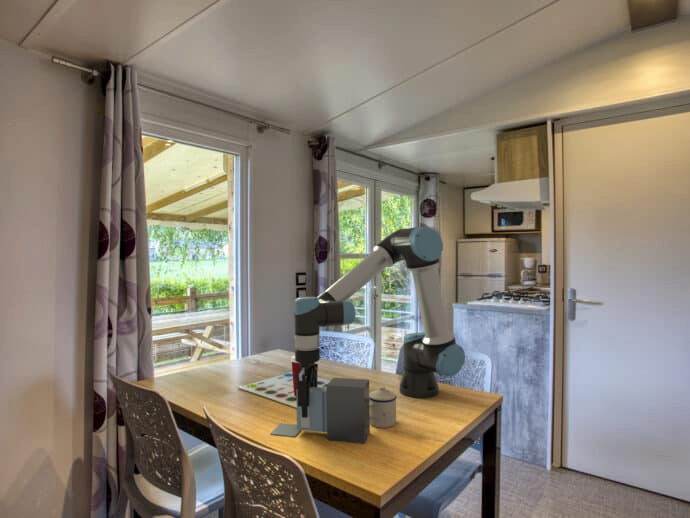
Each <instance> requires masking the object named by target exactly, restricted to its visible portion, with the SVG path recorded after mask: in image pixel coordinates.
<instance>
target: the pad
mask: <svg viewBox="0 0 690 518" xmlns="http://www.w3.org/2000/svg"><path fill="white" fill-rule="evenodd" d="M301 431H302V430H297V424H293V423H282V422H280V423H279V424H278V425H277V426H276V427H275V428H274V429H273V430H272V431H271V432H270V436H271V435H272V436H281V437H291V438H292V437H293V438H296V437H297V435H298V434H299V433H301Z"/></svg>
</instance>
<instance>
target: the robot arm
mask: <svg viewBox="0 0 690 518" xmlns="http://www.w3.org/2000/svg"><path fill="white" fill-rule="evenodd" d="M443 243H444V242H443V239H442V237H441V235H440V233H439V232H438V231H437V230H435V229H433V228H432V227H428V226H425V227H424V226H417V227H409V228H407V227H406V228H401V229H398V230H395V231H394V232H392V233H390V234H389V235H388V236H386V237H384V239H382V240H381V241H379V242H378V244H376V245H375V246H374V247H373V251H372V252H371V253H370V254H368V255H367V256H366V257H364V258H363V259H362V260H361V261H359V262H358V263H357V264H356V265H355V266H354V267H352V268H351V269H349V270H348V271H347V273H345V274H344V275H343V276H341V277H340V278H338V280H337V281H335V282H334V283H333V284H332V285H331V286H330V287H328V288H327V289H326V290H325V291H323V292H322V293H320V294H319V295H318V296H300V297H296V299H295V300H294V308H293V309H294V310H293V314H294V315H293V316H294V337H293V340H294V346H295V349H294V351H295V352H294V355H295V360H296V361H297V362H299V363H300V364H301V365H300V370H299V373H300V374H297V375H296V378H297V390H298V406H301V427H305V428H310V405H309V394H310V387H318V367H319V363H317V362H319V361H320V360H321V359H320V358H321V357H320V356H321V354H320V352H321V351H320V346H321V337H320V333H321V332H320V328H325V327H335V326H338V327H339V326H346V325H350V324H351V325H352V324H353V323H354V321H355V318H356V308H355V306H354V304H353V302H352V301H349V299H351V297H353V296H354V295H355V294H356V293H358V292H359V291H360V290H361V289H362V288H363V287H365V286H366V285H367V284H368V283H370V281H372V279H374V278H375V277H376V276H377V275H378V274H380V273H381V272H382V271H384V269H386V268H391V267H392V266H394V265H395V264H397V263H398V262H402V261H405V267H406V269H407V270H408V271H410V272H411V274H412V279H413V282H414V283H413V284H414V288H415V293H416V297H417V302H418V307H419V311H420V316H421V322H422V326H423V330H424V331H423V332H410V333H407V334H405V335H404V336H403V343H402V345H403V374H402V376H401V380H400V383H399V393H400V394H401V395H403V396H407V397H409V398H410V397H411V398H416V399H417V398H418V399H425V398H433V397H436V396H437V395H439V391H440V390H439V389H440V388H439V387H440V386H439V384H438V380H437V378H436V375H435V373H436V374H438V375H440V376H445V377H453V376H455V375H457V374H458V373H459V372H460V371H461V370H462V368H463V366H464V364H465V362H466V361H465V360H466V354H465V353H466V352H465V350H464V348H463V346H462V347H461V345H459V344H457V342H456V337H455V336H456V335H455V334H454V333H453V332H451V331H450V329H449V324H448V319H447V314H446V310H445V309H446V308H445V304H444V301H443V294H442V290H441V285H440V281H439V275H438V271H437V270H438V269H437V267H438V265H439V264H440V257H441V255H442V254H443V253H442V252H443V250H444V244H443Z"/></svg>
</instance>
